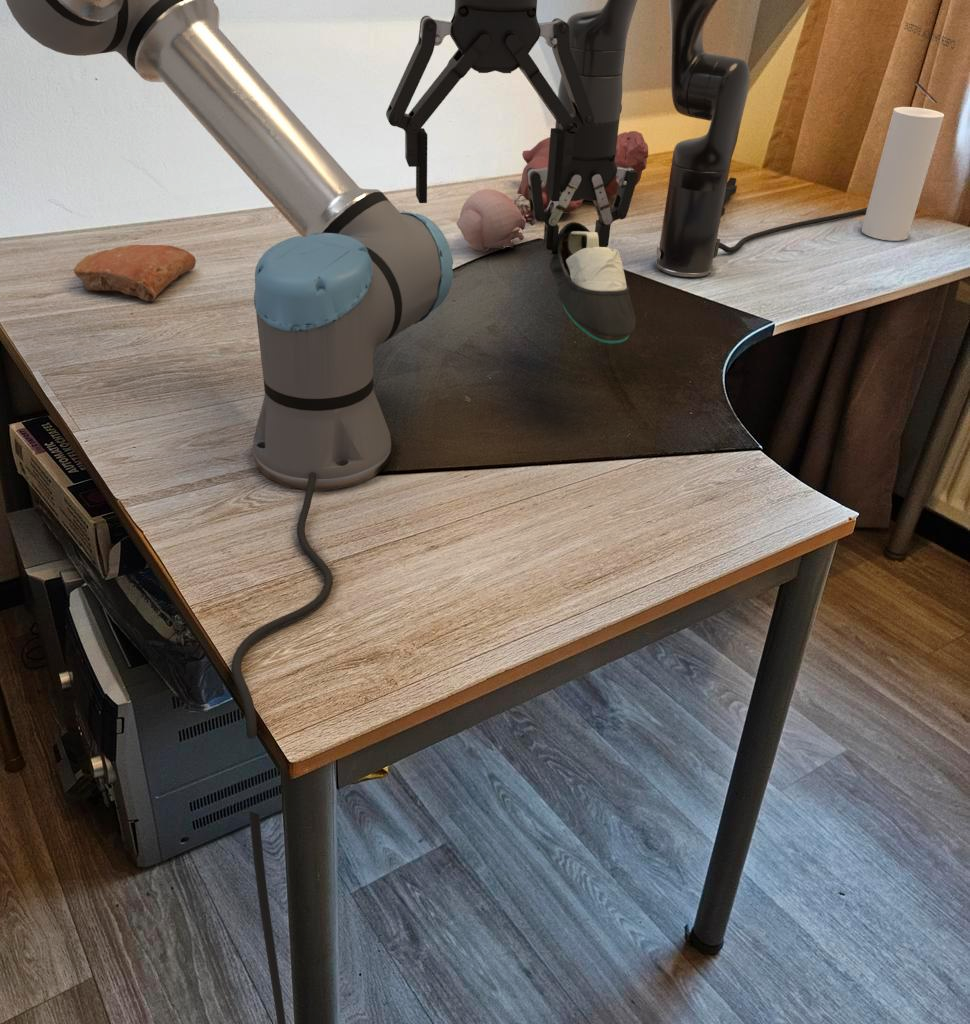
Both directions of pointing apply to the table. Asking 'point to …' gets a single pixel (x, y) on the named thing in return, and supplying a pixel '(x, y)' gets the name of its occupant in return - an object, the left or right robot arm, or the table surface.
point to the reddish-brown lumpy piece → (627, 154)
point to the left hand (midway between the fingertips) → (487, 198)
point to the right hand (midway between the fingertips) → (574, 251)
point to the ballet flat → (592, 285)
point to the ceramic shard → (134, 269)
